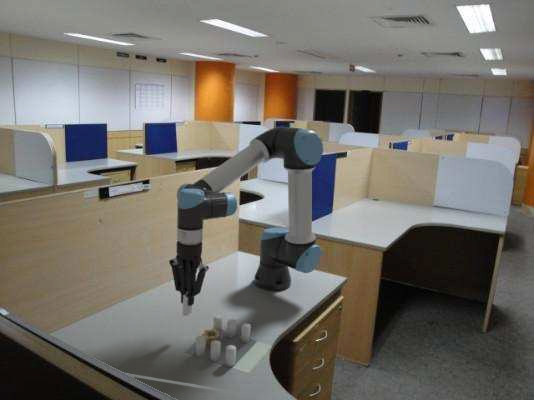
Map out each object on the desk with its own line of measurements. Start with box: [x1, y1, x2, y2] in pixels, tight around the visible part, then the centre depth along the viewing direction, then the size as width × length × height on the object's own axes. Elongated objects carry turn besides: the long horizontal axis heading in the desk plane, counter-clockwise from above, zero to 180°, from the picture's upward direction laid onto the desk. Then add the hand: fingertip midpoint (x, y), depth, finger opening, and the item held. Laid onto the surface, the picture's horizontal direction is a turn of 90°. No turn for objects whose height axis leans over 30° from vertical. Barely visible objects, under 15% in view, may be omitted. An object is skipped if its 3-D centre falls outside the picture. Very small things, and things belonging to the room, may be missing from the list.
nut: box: [201, 328, 220, 347], centre depth 136 cm, size 6×5×3 cm
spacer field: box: [184, 315, 273, 374], centre depth 133 cm, size 16×21×6 cm
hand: (187, 313), depth 137 cm, fingers closed
